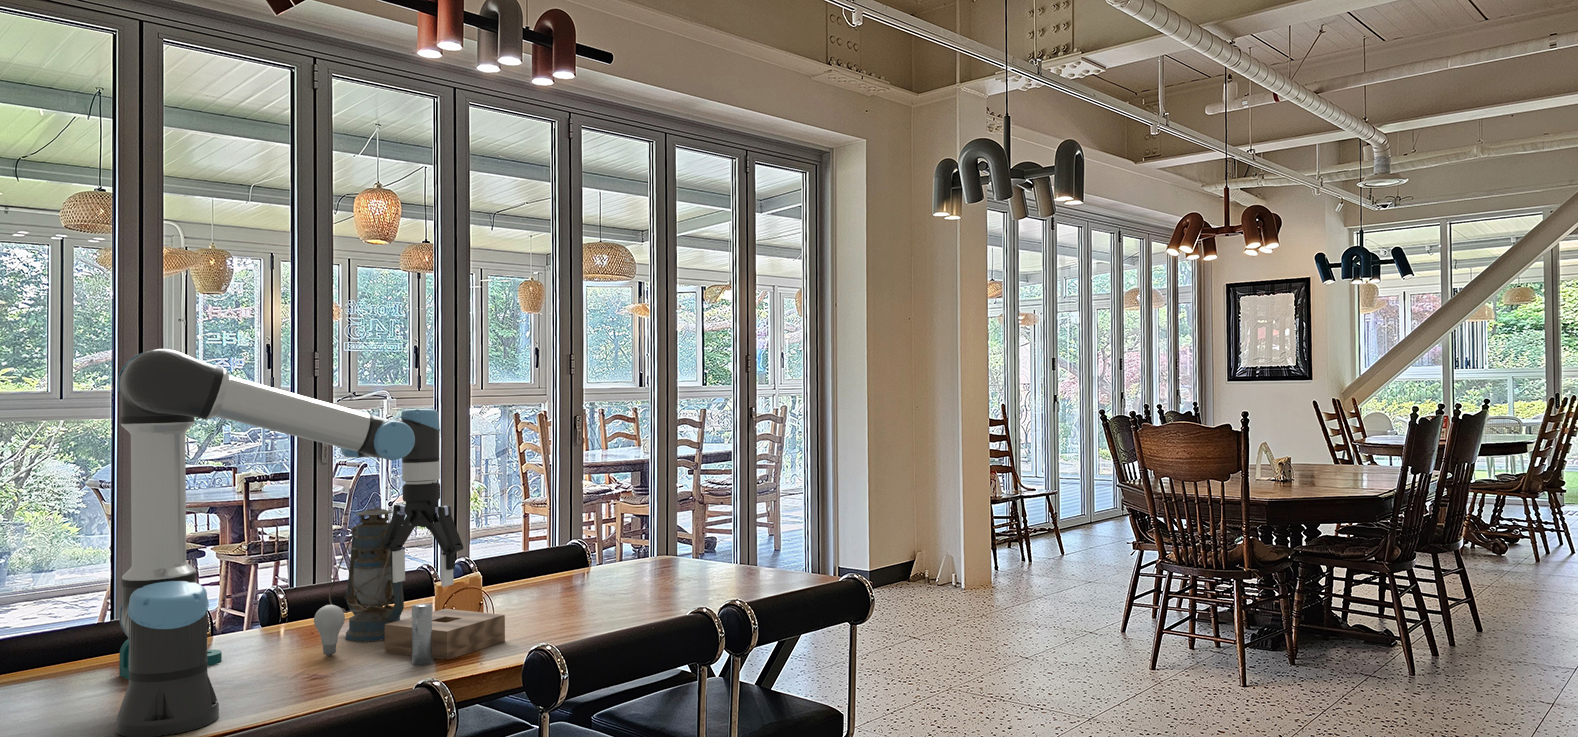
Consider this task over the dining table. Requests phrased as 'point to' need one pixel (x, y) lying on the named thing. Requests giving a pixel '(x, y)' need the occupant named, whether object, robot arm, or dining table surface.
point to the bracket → (212, 659)
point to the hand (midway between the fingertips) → (422, 583)
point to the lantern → (371, 580)
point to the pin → (421, 634)
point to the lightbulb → (329, 626)
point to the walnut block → (449, 633)
